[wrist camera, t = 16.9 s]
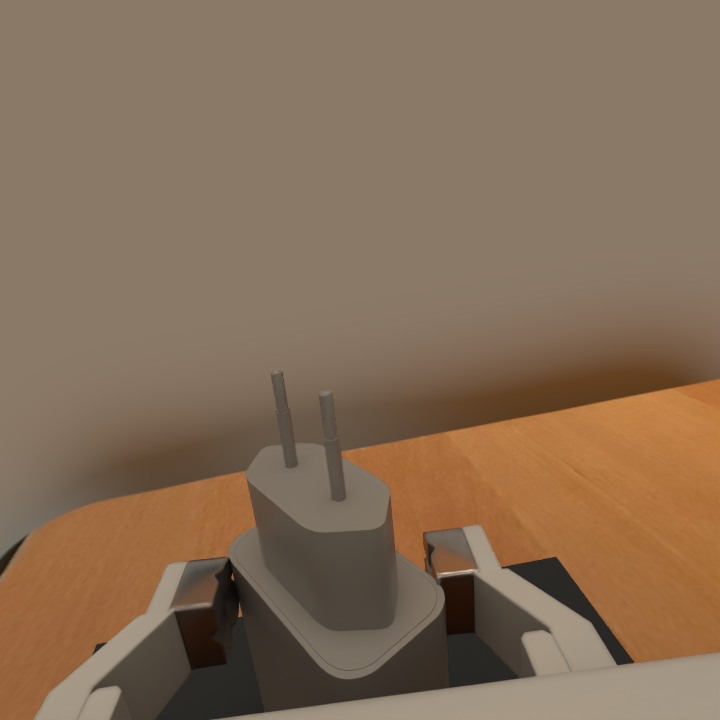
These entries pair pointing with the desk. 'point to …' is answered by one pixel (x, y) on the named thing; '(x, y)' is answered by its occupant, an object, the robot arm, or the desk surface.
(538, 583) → the desk mat
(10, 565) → the desk surface
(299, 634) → the power adapter
